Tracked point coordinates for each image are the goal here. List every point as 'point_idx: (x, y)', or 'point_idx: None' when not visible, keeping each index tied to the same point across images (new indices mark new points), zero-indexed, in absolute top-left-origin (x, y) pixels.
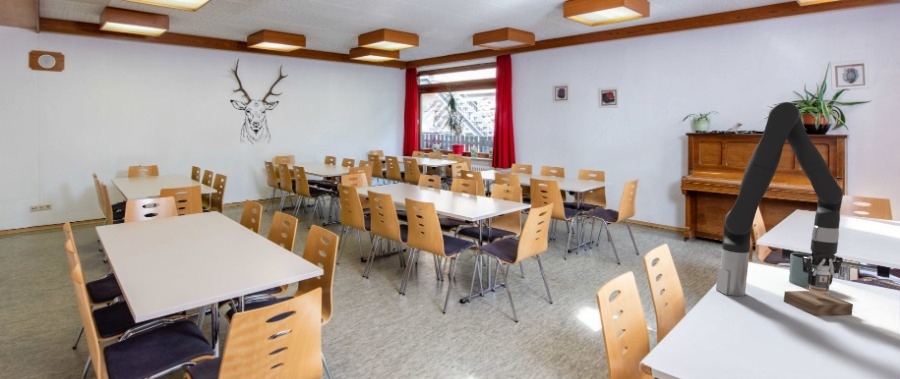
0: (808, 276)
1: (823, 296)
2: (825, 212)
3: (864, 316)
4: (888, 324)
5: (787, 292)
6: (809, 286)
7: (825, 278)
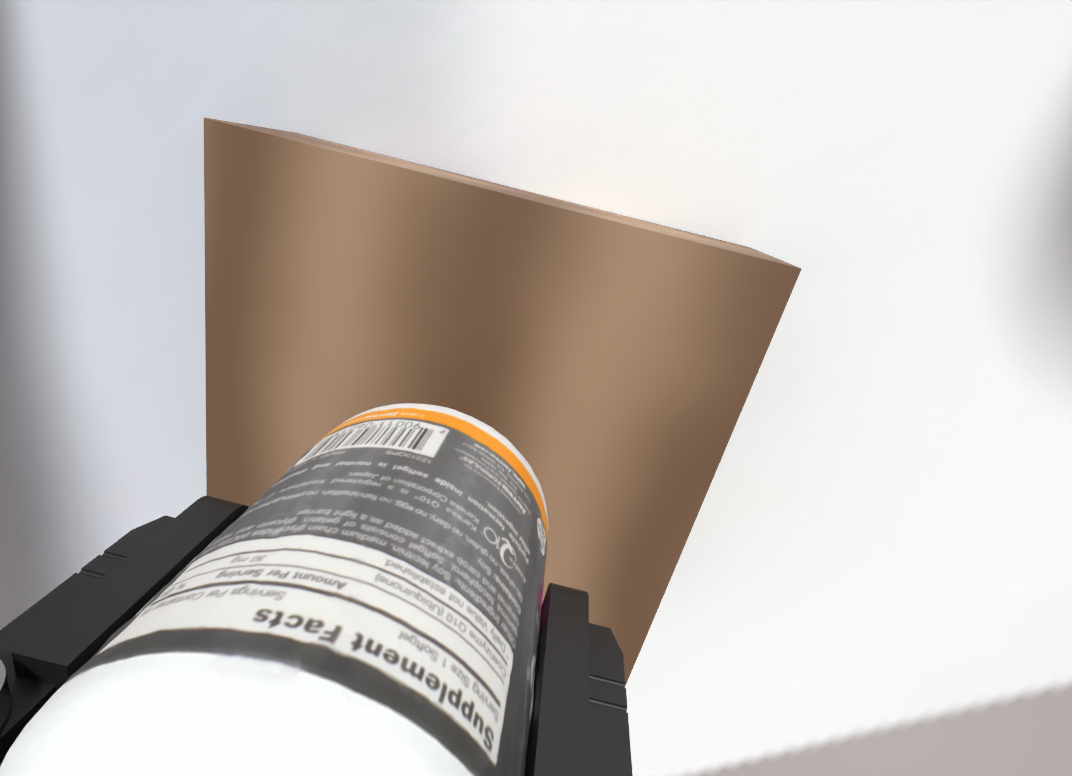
0: (24, 623)
1: (571, 455)
2: None
3: (693, 645)
4: (676, 761)
5: (208, 173)
6: (308, 450)
7: None
